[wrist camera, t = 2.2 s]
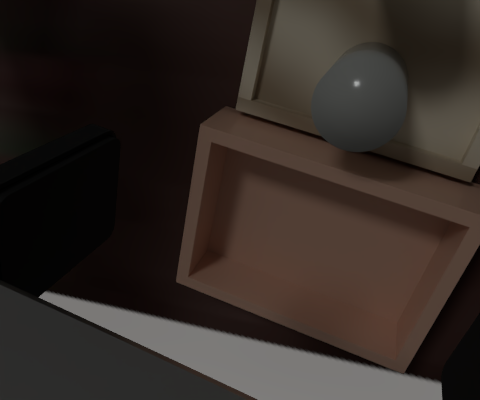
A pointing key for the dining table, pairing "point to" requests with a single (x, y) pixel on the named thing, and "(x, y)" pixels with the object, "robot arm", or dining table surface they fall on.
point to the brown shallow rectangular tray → (325, 235)
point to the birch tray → (387, 32)
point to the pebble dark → (362, 98)
